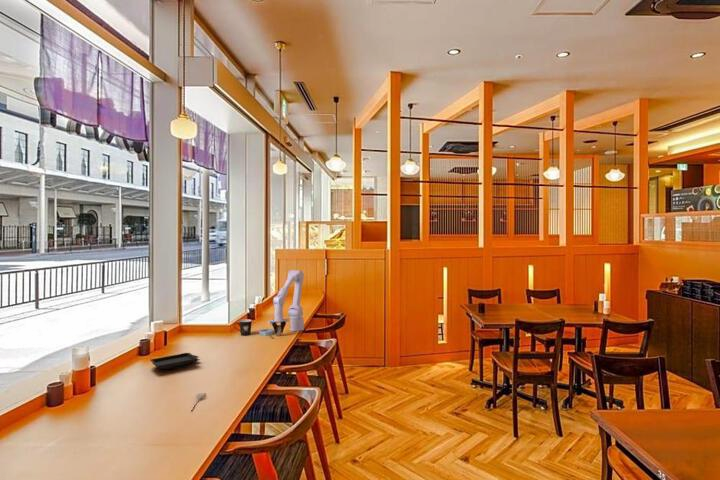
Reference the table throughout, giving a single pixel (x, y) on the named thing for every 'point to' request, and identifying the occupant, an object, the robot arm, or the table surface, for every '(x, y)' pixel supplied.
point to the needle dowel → (278, 330)
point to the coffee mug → (245, 327)
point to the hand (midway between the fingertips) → (278, 332)
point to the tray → (174, 361)
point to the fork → (199, 396)
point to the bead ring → (266, 332)
